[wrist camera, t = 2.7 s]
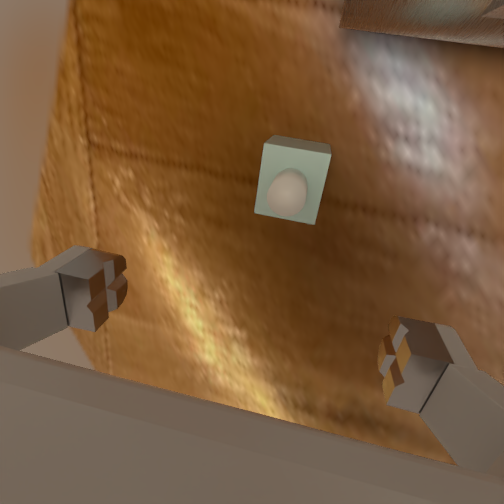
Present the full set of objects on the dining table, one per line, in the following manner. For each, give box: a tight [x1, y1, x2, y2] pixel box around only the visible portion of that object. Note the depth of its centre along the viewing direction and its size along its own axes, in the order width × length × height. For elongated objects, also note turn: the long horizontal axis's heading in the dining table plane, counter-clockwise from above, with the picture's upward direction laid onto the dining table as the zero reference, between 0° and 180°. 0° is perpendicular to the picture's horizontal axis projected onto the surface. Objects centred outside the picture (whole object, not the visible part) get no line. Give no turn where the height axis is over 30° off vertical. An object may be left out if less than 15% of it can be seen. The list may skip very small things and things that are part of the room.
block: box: [254, 135, 332, 225], centre depth 23 cm, size 5×4×8 cm
